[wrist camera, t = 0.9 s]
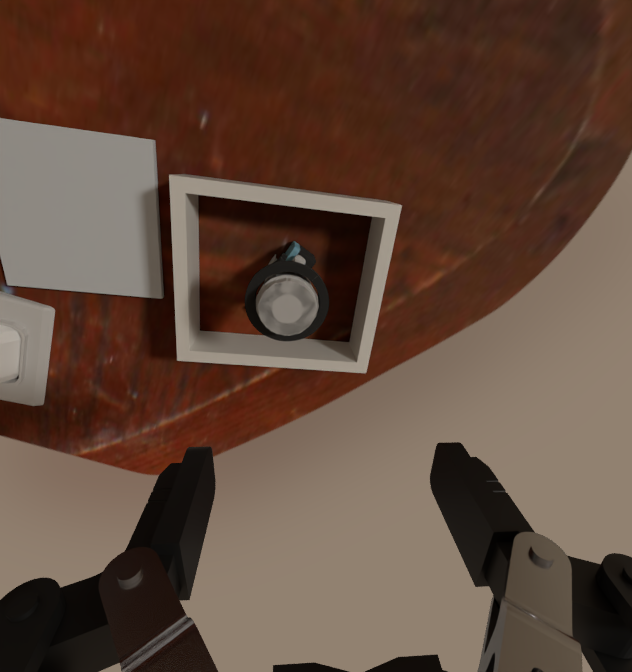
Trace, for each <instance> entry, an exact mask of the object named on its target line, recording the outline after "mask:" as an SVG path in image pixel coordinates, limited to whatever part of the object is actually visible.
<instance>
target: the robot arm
mask: <svg viewBox="0 0 632 672" xmlns="http://www.w3.org/2000/svg"><path fill="white" fill-rule="evenodd" d="M430 484H431V489H432V493H433V495H434V497H435V499H436V501H437V504H438V506H439V508H440V510H441V512H442V515H443V517H444V519H445V521H446V523H447V526H448V528H449V530H450V532H451V534H452V536H453V539H454V541H455V543H456V545H457V547H458V549H459V552H460V554H461V556H462V558H463V560H464V563H465V565H466V567H467V569H468V571H469V574H470V576H471V578H472V580H473V582H474V585H475V586H476V587H480V586H489V587H490V588H491V591H492V593H493V598H492V601H491V606H490V611H489V617H488V622H487V627H486V633H485V638H484V644H483V649H482V654H481V659H480V664H479V668H478V672H582V653H583V654H584V656H585V658H586V660H587V662H588V663H589V665H590V667H591V669H592V670H593V672H632V558H631V557H629V556H626V555H623V554H615V553H614V554H609V555H607V556H605V558H604V559H603V561H602V563H601V564H597V563H593V562H589V561H585V560H581V559H577V558H574V557H570V556H567V555H566V554H565V552H564V551H563V550H562V549H561V548H560V547H559V546H558V545H557V544H556V543H554V542H553V541H552V540H550V539H548V538H547V537H545V536H543V535H540V534H537V533H535V532H534V531H533V529H532V528H531V526H530V525H529V523H528V522H527V521H526V519H525V518H524V516H523V515H522V514H521V512H520V511H519V509H518V508H517V506H516V505H515V503H514V502H513V501H512V499H511V498H510V496H509V495H508V493H506V492H505V489H504V488H503V486H502V485H501V484H500V483H499V482H498V479H497V478H496V476H495V475H494V473H493V472H492V471H491V469H490V468H489V467H488V466H487V465H486V464H484V463H483V462H482V461H481V460H479V459H478V458H477V457H470V456H469V454H468V452H467V451H466V449H465V448H464V446H463V445H462V444H461V443H458V442H457V443H438V444H437V446H436V450H435V455H434V459H433V464H432V469H431V474H430ZM214 495H215V473H214V463H213V454H212V448H211V447H188V449H187V451H186V453H185V456H184V458H183V461H182V463H171V464H170V465H169V466H168V467H167V468H166V469H165V470H164V471H163V472H162V473H161V474H160V475H159V477H158V479H157V482H156V484H155V486H154V488H153V492H152V493H151V495H150V498H149V500H148V503H147V504H146V506H145V508H144V511H143V513H142V515H141V518H140V520H139V522H138V524H137V526H136V529H135V531H134V533H133V535H132V537H131V540H130V542H129V544H128V546H127V548H126V550H125V552H123V553H121V554H120V555H118V556H117V557H116V558H115V559H113V560H112V561H111V562H110V563H109V564H108V565H107V567H106V568H105V570H104V571H103V572H102V573H100V574H98V575H96V576H93V577H91V578H88V579H85V580H82V581H79V582H76V583H73V584H70V585H67V586H64V587H61V588H60V586H59V585H58V583H57V582H56V581H55V580H53V579H51V578H38V579H34V580H30V581H28V582H26V583H23V584H22V585H20V586H18V587H16V588H15V589H13V590H12V591H11V592H9V593H8V594H7V595H5V596H4V597H3V598H2V599H1V600H0V672H99V671H101V670H103V669H105V668H108V667H110V666H112V665H115V664H117V663H119V662H120V665H121V671H122V672H218V670H217V668H216V666H215V664H214V662H213V660H212V658H211V656H210V654H209V652H208V650H207V648H206V646H205V644H204V641H203V639H202V637H201V635H200V633H199V631H198V629H197V627H196V625H195V623H194V621H193V620H192V619H191V618H188V617H187V615H186V613H185V612H184V609H183V607H182V605H181V603H180V601H179V600H190V596H191V591H192V587H193V583H194V579H195V575H196V570H197V567H198V562H199V558H200V554H201V550H202V546H203V542H204V538H205V534H206V529H207V525H208V521H209V517H210V513H211V509H212V505H213V501H214ZM273 672H348V671H344V670H340V669H337V668H333V667H329V666H325V665H321V664H318V663H302V664H287V665H273ZM365 672H447V671H444V670H442V668H441V664H440V661H439V658H438V655H424V656H409V657H398V658H395V659H393V660H391V661H388V662H386V663H384V664H381V665H379V666H377V667H374V668H372V669H370V670H367V671H365Z"/></svg>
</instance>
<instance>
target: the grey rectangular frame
mask: <svg viewBox="0 0 632 672" xmlns="http://www.w3.org/2000/svg"><path fill="white" fill-rule="evenodd" d="M169 184H170V207H171V230H172V253H173V276H174V299H175V323H176V346H177V361H190V362H205V363H220V364H235V365H250V366H265V367H280V368H295V369H310V370H325V371H340V372H355V373H366V372H367V367H368V362H369V357H370V353H371V348H372V343H373V339H374V334H375V329H376V325H377V320H378V315H379V311H380V306H381V301H382V297H383V292H384V287H385V282H386V278H387V273H388V268H389V264H390V259H391V254H392V250H393V245H394V240H395V236H396V231H397V226H398V221H399V217H400V212H401V207H402V205H399V204H396V203H393V202H389V201H384V200H377V199H369V198H362V197H354V196H346V195H339V194H331V193H324V192H316V191H308V190H301V189H293V188H286V187H278V186H270V185H263V184H255V183H248V182H240V181H232V180H225V179H217V178H210V177H202V176H195V175H187V174H177V175H169ZM198 195H205V196H213V197H221V198H229V199H237V200H245V201H253V202H261V203H269V204H277V205H285V206H293V207H300V208H308V209H316V210H324V211H332V212H340V213H348V214H356V215H364V216H372V220H371V226H370V231H369V237H368V242H367V248H366V253H365V259H364V264H363V270H362V275H361V281H360V286H359V292H358V297H357V303H356V308H355V314H354V319H353V324H352V330H351V335H350V341H349V342H340V341H328V340H315V339H300V340H296V341H278V340H274V339H271V338H269V337H267V336H263V335H250V334H237V333H225V332H212V331H200V294H199V213H198Z"/></svg>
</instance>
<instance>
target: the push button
mask: <svg viewBox="0 0 632 672" xmlns="http://www.w3.org/2000/svg"><path fill="white" fill-rule="evenodd" d="M315 263H316V260H315V257H314V255H313V254H311V253H310V252H309V251H307V250H306V249H305V248H303V247H302V246H300V245H299V244H298V243H296V242H295V241H293V242H292V244H291V245H290V246H289V249H288V250H287V251H286V253H282V254H281V256H280V257H279V259H276V254H275V255H274V256H273V258H272V259H271V261H270V262H269V264H268V265H267V266H265V267H264V268H262V269H261V270H259V271H258V272H257V273H256V274H255V275H254V277H253V278H252V279H251V281H250V283H249V285H248V288H247V291H246V295H245V308H246V312H247V315H248V318H249V320H250V321H251V323H252V324H253V326H254V327H255V328H256V329H257V330H258V331H259V332H261V333H262V334H263V335H265V336H267V337H269V338H271V339H274V340H278V341H296V340H300V339H303V338H305V337H307V336H309V335H311V334H312V333H314V332H315V331H316V330H317V329H318V328H319V327H320V326H321V324H322V323H323V322H324V320H325V318H326V315H327V312H328V308H329V296H328V292H327V288H326V286H325V284H324V282H323V280H322V279H321V277H320V276H319V275H318V274H317V273H316V272H315V271H314V270H313V269H311V268H312V267H313V266H314V264H315ZM264 280H265V282H264V284H263V286H262V287H261V289H260V291H259V293H258V295H257V298H256V291H257V289H258V287H259V286H260V284H261V283H262V282H263V281H264ZM309 280H310V281H311V282H312V283H313V284H314V286H315V287H316V289H317V291H318V297H317V294H316V292H315V290H314V289H313V287H312V286H311V283H310V281H309Z"/></svg>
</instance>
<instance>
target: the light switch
mask: <svg viewBox="0 0 632 672" xmlns="http://www.w3.org/2000/svg"><path fill="white" fill-rule="evenodd" d="M54 315H55V310H54V308H52V307H51V306H47V305H44V304H41V303H37V302H34V301H31V300H27V299H24V298H21V297H17V296H14V295H10V294H7V293H4V292H0V400H5V401H10V402H15V403H21V404H26V405H31V406H39V405H43V404H44V399H45V391H46V382H47V374H48V366H49V357H50V349H51V341H52V332H53V324H54ZM18 375H19V378H18V379H15V378H17V376H18Z"/></svg>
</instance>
